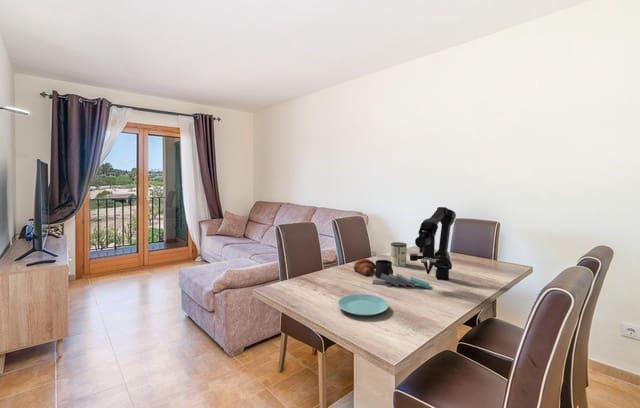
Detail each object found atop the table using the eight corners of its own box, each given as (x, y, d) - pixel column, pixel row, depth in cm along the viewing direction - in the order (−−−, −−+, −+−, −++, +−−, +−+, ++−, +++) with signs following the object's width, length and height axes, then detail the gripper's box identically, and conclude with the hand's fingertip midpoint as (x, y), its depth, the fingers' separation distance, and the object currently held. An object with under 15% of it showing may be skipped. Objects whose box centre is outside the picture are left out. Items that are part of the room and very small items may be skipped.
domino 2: (399, 280, 168) (382, 272, 170) (399, 283, 163) (381, 275, 165) (398, 283, 168) (381, 275, 170) (398, 286, 163) (380, 278, 165)
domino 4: (414, 281, 166) (397, 273, 168) (415, 284, 161) (397, 276, 163) (413, 284, 166) (396, 276, 168) (414, 287, 161) (396, 278, 163)
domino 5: (429, 283, 164) (410, 276, 166) (429, 286, 159) (410, 279, 161) (428, 285, 164) (409, 279, 166) (428, 288, 159) (409, 282, 162)
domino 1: (391, 281, 169) (373, 279, 172) (391, 284, 164) (372, 282, 167) (391, 284, 169) (373, 282, 172) (391, 287, 164) (372, 285, 167)
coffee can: (395, 261, 214) (395, 241, 213) (409, 264, 207) (409, 243, 205) (387, 264, 206) (387, 243, 205) (401, 267, 199) (401, 246, 198)
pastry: (345, 270, 193) (345, 258, 192) (362, 266, 203) (362, 254, 202) (366, 277, 180) (366, 263, 180) (382, 272, 190) (382, 259, 189)
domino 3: (406, 281, 167) (389, 273, 169) (407, 284, 162) (389, 275, 164) (405, 283, 167) (388, 275, 169) (405, 287, 162) (388, 278, 164)
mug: (386, 281, 171) (387, 265, 170) (371, 276, 181) (372, 261, 180) (398, 278, 176) (398, 263, 175) (383, 273, 186) (383, 258, 185)
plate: (353, 324, 120) (353, 317, 120) (329, 303, 141) (329, 297, 140) (399, 314, 129) (399, 308, 129) (370, 296, 150) (370, 290, 149)
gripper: (445, 242, 166) (445, 271, 167) (409, 241, 170) (409, 268, 171) (448, 247, 155) (447, 277, 156) (410, 245, 160) (409, 274, 161)
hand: (428, 274), depth 161 cm, fingers closed
